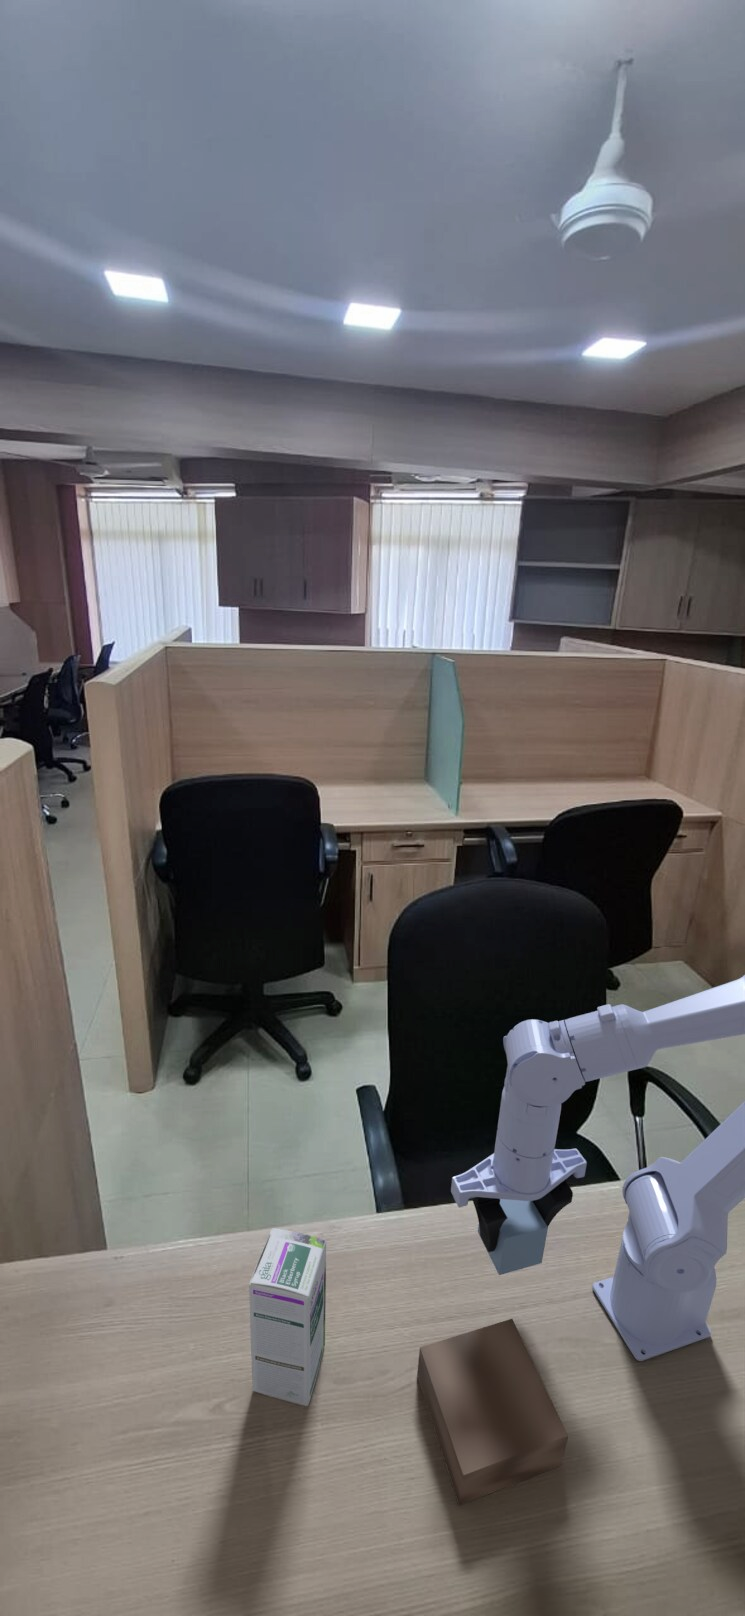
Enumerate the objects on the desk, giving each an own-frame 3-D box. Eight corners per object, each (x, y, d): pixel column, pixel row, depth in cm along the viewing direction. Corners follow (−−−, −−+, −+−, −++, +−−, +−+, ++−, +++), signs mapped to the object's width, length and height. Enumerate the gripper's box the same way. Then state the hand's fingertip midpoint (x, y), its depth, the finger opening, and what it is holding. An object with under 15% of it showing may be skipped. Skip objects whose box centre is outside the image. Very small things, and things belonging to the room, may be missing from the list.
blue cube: (518, 1221, 73) (523, 1186, 71) (541, 1263, 68) (547, 1227, 67) (477, 1231, 71) (482, 1196, 70) (499, 1275, 67) (504, 1238, 65)
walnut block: (507, 1346, 67) (512, 1318, 66) (561, 1464, 58) (568, 1435, 57) (417, 1375, 64) (419, 1347, 63) (459, 1505, 55) (463, 1475, 54)
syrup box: (309, 1409, 61) (312, 1298, 56) (249, 1392, 62) (248, 1282, 57) (325, 1344, 66) (329, 1238, 62) (270, 1330, 67) (270, 1224, 63)
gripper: (566, 1094, 71) (550, 1190, 75) (443, 1119, 67) (433, 1219, 71) (606, 1144, 65) (586, 1246, 69) (473, 1175, 60) (460, 1281, 64)
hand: (510, 1236), depth 69 cm, fingers closed on blue cube, 5 cm apart
